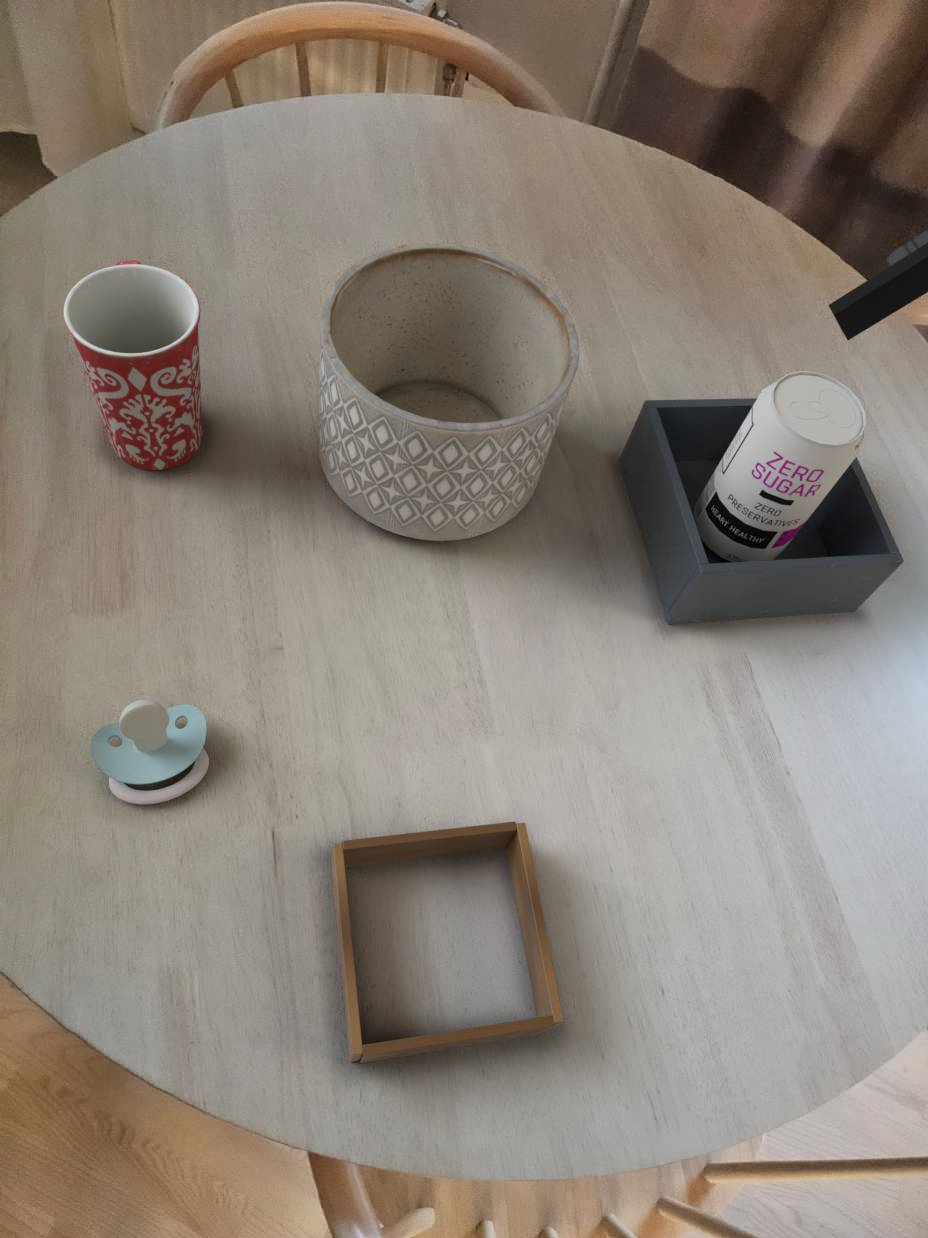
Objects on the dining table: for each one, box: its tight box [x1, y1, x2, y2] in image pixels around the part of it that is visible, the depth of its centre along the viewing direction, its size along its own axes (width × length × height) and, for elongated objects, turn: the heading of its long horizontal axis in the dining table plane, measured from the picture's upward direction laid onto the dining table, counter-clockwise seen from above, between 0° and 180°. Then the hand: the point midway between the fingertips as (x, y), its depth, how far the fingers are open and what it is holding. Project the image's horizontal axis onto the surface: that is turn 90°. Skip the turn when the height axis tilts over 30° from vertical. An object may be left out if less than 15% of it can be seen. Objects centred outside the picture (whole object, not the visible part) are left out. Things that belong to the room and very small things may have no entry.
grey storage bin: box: [618, 397, 905, 626], centre depth 77 cm, size 17×17×8 cm
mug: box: [62, 259, 204, 471], centre depth 72 cm, size 13×9×14 cm
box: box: [330, 821, 564, 1064], centre depth 58 cm, size 12×12×4 cm
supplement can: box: [693, 370, 867, 562], centre depth 74 cm, size 8×8×15 cm
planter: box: [317, 242, 580, 542], centre depth 74 cm, size 19×19×14 cm
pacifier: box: [89, 698, 210, 805], centre depth 61 cm, size 7×6×6 cm
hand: (895, 420), depth 47 cm, fingers open, 13 cm apart
